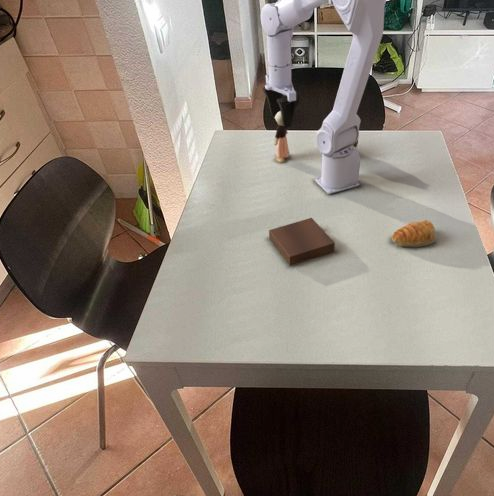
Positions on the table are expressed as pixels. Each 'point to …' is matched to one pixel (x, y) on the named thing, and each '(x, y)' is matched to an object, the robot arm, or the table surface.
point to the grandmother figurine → (281, 139)
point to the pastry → (415, 234)
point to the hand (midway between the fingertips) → (281, 121)
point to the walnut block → (301, 241)
